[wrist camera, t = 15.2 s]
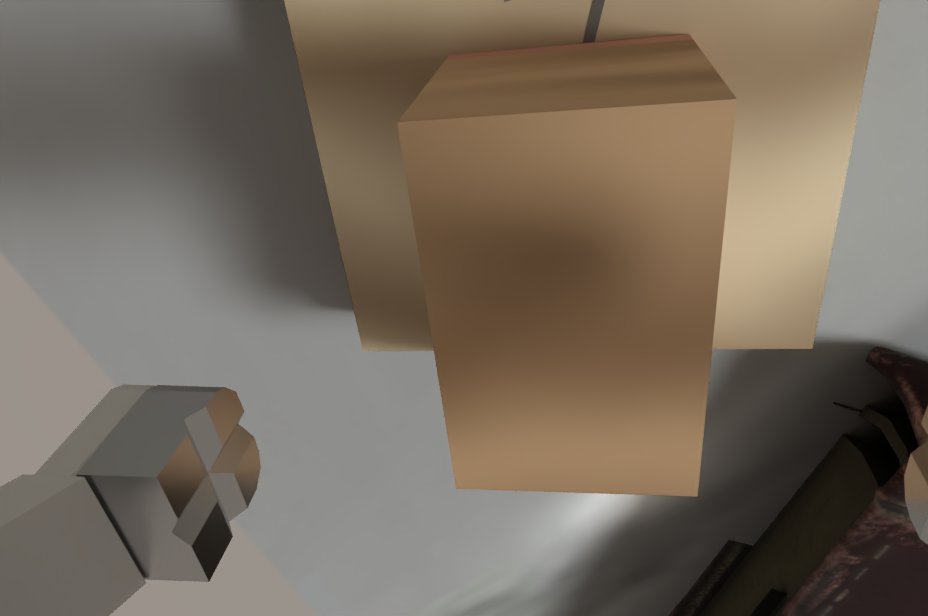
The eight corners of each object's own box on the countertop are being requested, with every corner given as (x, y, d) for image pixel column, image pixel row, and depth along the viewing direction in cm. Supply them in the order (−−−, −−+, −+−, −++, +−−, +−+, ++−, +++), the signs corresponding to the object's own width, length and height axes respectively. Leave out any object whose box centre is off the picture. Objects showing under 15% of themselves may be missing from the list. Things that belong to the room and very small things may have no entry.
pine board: (236, -399, 13) (183, -442, 11) (936, -554, 11) (1003, -638, 9) (380, 313, 21) (363, 351, 19) (792, 307, 19) (812, 349, 17)
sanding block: (449, 54, 15) (397, 122, 10) (689, 33, 14) (737, 99, 10) (484, 353, 19) (456, 488, 15) (670, 353, 18) (697, 496, 14)
